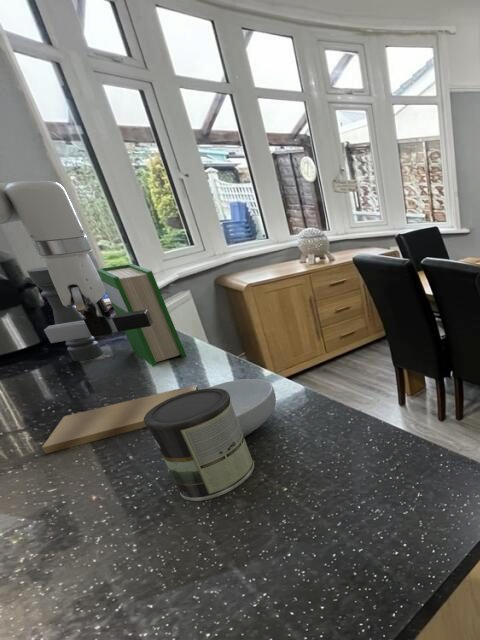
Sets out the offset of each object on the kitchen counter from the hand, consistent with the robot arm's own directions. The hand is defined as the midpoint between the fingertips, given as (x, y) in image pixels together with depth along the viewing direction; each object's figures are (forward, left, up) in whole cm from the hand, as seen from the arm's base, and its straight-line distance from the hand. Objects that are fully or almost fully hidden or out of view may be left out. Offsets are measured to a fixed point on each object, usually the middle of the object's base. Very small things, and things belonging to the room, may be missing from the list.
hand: (104, 331), depth 86 cm
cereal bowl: (+20, -33, -15) cm, 42 cm away
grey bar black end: (0, 0, 0) cm, 0 cm away
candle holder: (-15, +34, -15) cm, 40 cm away
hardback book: (+2, +23, -15) cm, 28 cm away
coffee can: (+18, -47, -15) cm, 53 cm away
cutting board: (+2, -15, -15) cm, 21 cm away
